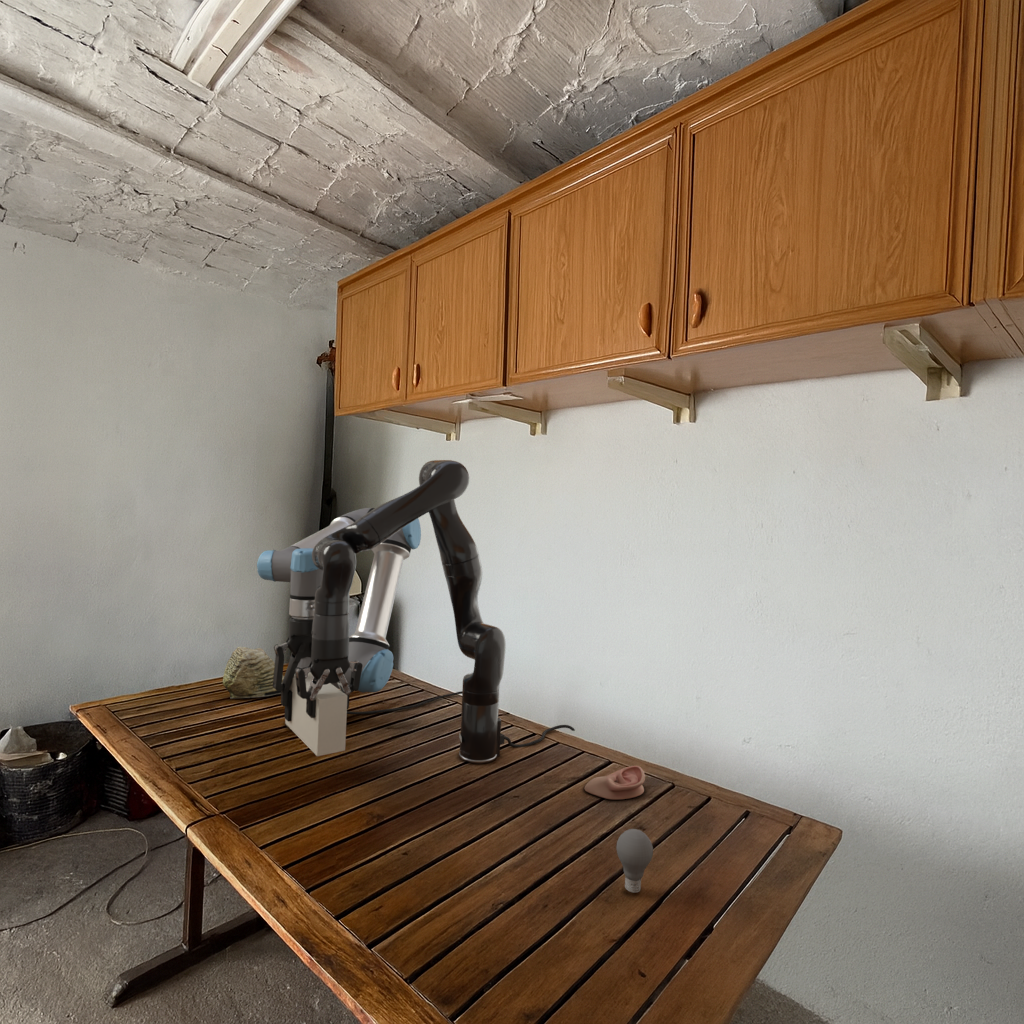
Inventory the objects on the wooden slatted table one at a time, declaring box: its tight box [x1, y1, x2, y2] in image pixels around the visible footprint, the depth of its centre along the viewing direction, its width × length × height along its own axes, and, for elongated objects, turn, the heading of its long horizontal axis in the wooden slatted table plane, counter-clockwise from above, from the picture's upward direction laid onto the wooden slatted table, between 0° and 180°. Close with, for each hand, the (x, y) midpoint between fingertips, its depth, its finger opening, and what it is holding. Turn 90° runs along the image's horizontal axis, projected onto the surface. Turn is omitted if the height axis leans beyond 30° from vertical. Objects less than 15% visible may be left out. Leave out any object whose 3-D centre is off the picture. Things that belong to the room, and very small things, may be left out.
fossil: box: [222, 646, 285, 699], centre depth 198 cm, size 9×18×15 cm, turn 132°
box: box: [284, 672, 348, 757], centre depth 139 cm, size 22×6×12 cm, turn 36°
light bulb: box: [615, 828, 654, 894], centre depth 106 cm, size 6×6×10 cm
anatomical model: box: [584, 765, 646, 800], centre depth 143 cm, size 13×4×12 cm
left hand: (302, 716), depth 145 cm, fingers closed on box, 6 cm apart
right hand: (327, 714), depth 132 cm, fingers closed on box, 6 cm apart
